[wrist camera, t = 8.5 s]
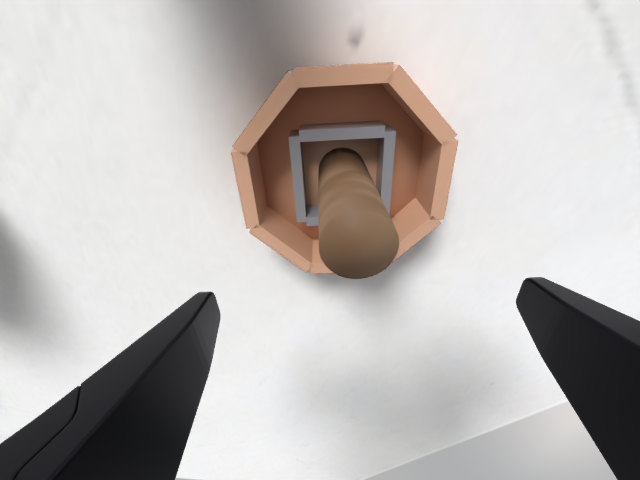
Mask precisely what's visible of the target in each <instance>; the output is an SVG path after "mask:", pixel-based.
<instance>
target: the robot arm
mask: <svg viewBox="0 0 640 480" xmlns="http://www.w3.org/2000/svg"><path fill="white" fill-rule="evenodd" d="M516 305H517V308H518V310H519V312H520V314H521V316H522V318H523V321H524V323H525V325H526V327H527V329H528V331H529V333H530V335H531V337H532V339H533V341H534V343H535V345H536V347H537V349H538V351H539V353H540V355H541V357H542V358H543V360H544V362H545V363H546V365H547V367H548V368H549V370H550V371H551V373H552V375H553V376H554V378H555V380H556V381H557V383H558V384H559V386H560V388H561V389H562V391H563V392H564V394H565V396H566V397H567V399H568V400H569V402H570V404H571V405H572V407H573V408H574V410H575V412H576V413H577V415H578V416H579V418H580V420H581V421H582V423H583V425H584V426H585V428H586V429H587V431H588V433H589V434H590V436H591V437H592V439H593V441H594V442H595V444H596V446H597V447H598V449H599V451H600V452H601V454H602V455H603V457H604V458H605V460H606V462H607V463H608V465H609V467H610V468H611V470H612V471H613V473H614V475H615V476H616V478H617V479H618V480H640V321H638V320H636V319H634V318H632V317H629V316H627V315H625V314H623V313H620V312H618V311H616V310H614V309H612V308H609V307H607V306H605V305H603V304H601V303H598V302H596V301H594V300H592V299H589V298H587V297H585V296H583V295H581V294H578V293H576V292H574V291H572V290H569V289H567V288H565V287H563V286H561V285H558V284H556V283H554V282H552V281H550V280H547V279H545V278H542V277H531V278H526V279H525V280H524V281H523V283H522V286H521V288H520V291H519V293H518V296H517V299H516ZM219 323H220V310H219V307H218V304H217V301H216V297H215V295H214V293H213V292H199V293H197V294H195V295H194V296H193V297H192V298H190V299H189V300H188V301H186V302H185V303H184V304H183V305H181V306H180V307H179V308H178V309H176V310H175V311H174V312H172V313H171V314H170V315H169V316H167V317H166V318H165V319H163V320H162V321H161V322H160V323H158V324H157V325H156V326H154V327H153V328H152V329H151V330H149V331H148V332H147V333H145V334H144V335H143V336H142V337H140V338H139V339H138V340H136V341H135V342H134V343H133V344H131V345H130V346H129V347H128V348H126V349H125V350H124V351H122V352H121V353H120V354H119V355H117V356H116V357H115V358H113V359H112V360H111V361H110V362H108V363H107V364H106V365H104V366H103V367H102V368H101V369H99V370H98V371H97V372H95V373H94V374H93V375H92V376H90V377H89V378H88V379H86V380H85V381H84V382H83V383H82V384H81V386H77V387H76V388H75V389H74V390H72V391H71V392H70V393H68V394H67V395H66V396H65V397H63V398H62V399H61V400H59V401H58V402H57V403H55V404H54V405H53V406H51V407H50V408H49V409H47V410H46V411H45V412H43V413H42V414H41V415H40V416H38V417H37V418H36V419H34V420H33V421H31V422H30V423H29V424H27V425H26V426H25V427H23V428H22V429H20V430H19V431H18V432H16V433H15V434H13V435H12V436H11V437H9V438H8V439H6V440H5V441H4V442H2V443H1V444H0V480H175V478H176V474H177V471H178V468H179V465H180V462H181V459H182V456H183V453H184V449H185V446H186V443H187V440H188V437H189V434H190V431H191V428H192V424H193V421H194V418H195V415H196V412H197V409H198V406H199V403H200V399H201V396H202V393H203V390H204V387H205V384H206V381H207V378H208V374H209V371H210V367H211V363H212V358H213V353H214V348H215V343H216V338H217V333H218V328H219Z"/></svg>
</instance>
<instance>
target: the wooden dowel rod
mask: <svg viewBox="0 0 640 480" xmlns="http://www.w3.org/2000/svg"><path fill="white" fill-rule="evenodd" d="M318 201H319V254H320V257H321V259H322V261H323V263H324V264H325V266H326V267H327V268H328V269H329V270H331V271H332V272H333V273H335V274H337V275H339V276H342V277H346V278H351V279H361V278H367V277H370V276H373V275H376V274H378V273H380V272H381V271H383V270H384V269H386V268H387V267H388V266H389V265H390V264H391V263H392V261H393V260H394V258H395V257H396V255H397V252H398V248H399V236H398V233H397V231H396V228H395V226H394V224H393V222H392V220H391V218H390V216H389V214H388V211H387V209H386V207H385V205H384V203H383V201H382V199H381V197H380V195H379V192H378V190H377V188H376V186H375V184H374V182H373V180H372V178H371V175H370V173H369V171H368V169H367V167H366V165H365V163H364V161H363V159H362V157H361V156H360V155H359V154H358V153H357V152H356V151H354V150H352V149H350V148H345V147H341V148H336V149H333V150H331V151H329V152H328V153H327V154H326V155H325V156H324V157H323V158H322V160H321V162H320V164H319V169H318Z"/></svg>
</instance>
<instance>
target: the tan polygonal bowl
mask: <svg viewBox="0 0 640 480" xmlns="http://www.w3.org/2000/svg"><path fill="white" fill-rule="evenodd" d="M293 70H294V71H293ZM293 70H291V71H287V73H286V74H285V75H284V77H283V78H282V79H281V81H280V82H279V83H278V85H277V86H276V87H275V89H274V90H273V92H272V93H271V94H270V96H269V97H268V98H267V100H266V101H265V102H264V104H263V105H262V106H261V108H260V109H259V111H258V112H257V113H256V115H255V116H254V117H253V119H252V120H251V121H250V123H249V124H248V125H247V127H246V128H245V130H244V131H243V132H242V134H241V135H240V136H239V138H238V139H237V140H236V142H235V143H234V144H233V146H232V147H233V148H234V149H233V150H232V151H231V155H232V160H233V165H234V170H235V175H236V180H237V185H238V190H239V195H240V200H241V205H242V210H243V214H244V219H245V224H246V229H248V228H251V229H250V232H249V233H250V234H252V235H253V236H255V237H256V238H258V239H259V240H260V241H262V242H263V243H265V244H266V245H267V246H269V247H270V248H272V249H273V250H275V251H276V252H277V253H279V254H280V255H282V256H283V257H284V258H286V259H287V260H289V261H290V262H292V263H293V264H294V265H296V266H297V267H299V268H300V269H302V270H303V271H304V272H307V271H308V270H309V269H310V274H319V273H333V272H332V271H331V270H329V269H328V268H327V267H326V266H325V264H324V263H323V261H322V259H321V257H320V254H319V201H318V169H319V164H320V162H321V160H322V158H323V157H324V156H325V155H326V154H327V153H328V152H329V151H331V150H333V149H336V148H341V147H345V148H350V149H352V150H354V151H356V152H357V153H358V154H359V155H360V156H361V157H362V159H363V161H364V163H365V165H366V167H367V169H368V171H369V173H370V175H371V178H372V180H373V182H374V184H375V186H376V188H377V190H378V192H379V195H380V197H381V199H382V201H383V203H384V205H385V207H386V209H387V211H388V214H389V216H390V218H391V220H392V222H393V224H394V226H395V228H396V231H397V233H398V236H399V248H398V252H397V255H396V257H395V258H394V260H393V261H395V260H396V259H397V258H398V257H400V256H401V255H402V254H403V253H405V252H406V251H407V250H408V249H410V248H411V247H412V246H413V245H415V244H416V243H417V242H418V241H420V240H421V239H422V238H423V237H425V236H426V235H427V234H428V233H430V232H431V231H432V230H433V229H435V228H436V227H437V226H439V225H440V224H441V223H440V222H439V221H438V220H441V219H444V215H445V209H446V204H447V199H448V193H449V188H450V183H451V177H452V172H453V167H454V161H455V156H456V151H457V145H458V140H457V139H455V138H454V137H455V136H456V135H457V134H456V133H455V132H454V130H453V129H452V128H451V127H450V125H449V124H448V123H447V122H446V121H445V119H444V118H443V117H442V116H441V115H440V113H439V112H438V111H437V110H436V109H435V107H434V106H433V105H432V104H431V102H430V101H429V100H428V99H427V98H426V96H425V95H424V94H423V93H422V92H421V90H420V89H419V88H418V87H417V85H416V84H415V83H414V82H413V81H412V79H411V78H410V77H409V76H408V75H407V73H406V72H405V71H404V70H403V69H402V67H401V66H400V65H393V62H382V63H364V64H346V65H329V66H311V67H296V68H293ZM393 261H392V262H393Z"/></svg>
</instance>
